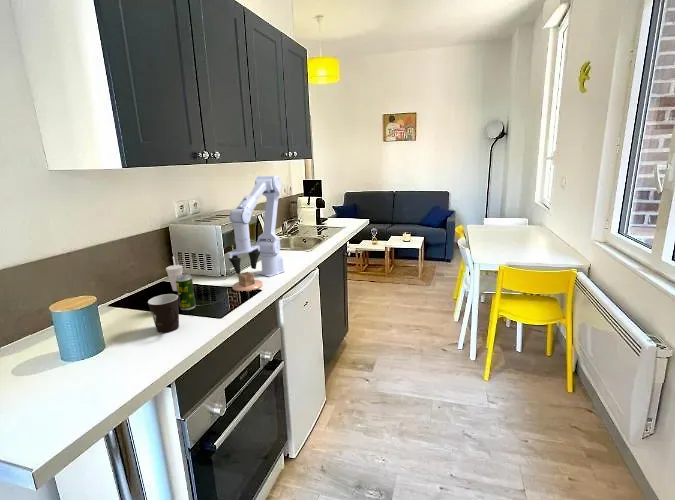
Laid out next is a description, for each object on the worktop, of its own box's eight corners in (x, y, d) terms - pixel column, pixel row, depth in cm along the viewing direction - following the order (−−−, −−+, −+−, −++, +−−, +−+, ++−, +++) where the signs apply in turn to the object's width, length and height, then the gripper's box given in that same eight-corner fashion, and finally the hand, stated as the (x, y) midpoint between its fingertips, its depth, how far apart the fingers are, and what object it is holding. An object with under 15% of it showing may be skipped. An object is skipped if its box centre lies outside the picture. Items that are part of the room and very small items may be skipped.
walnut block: (248, 281, 153) (247, 271, 152) (254, 283, 150) (253, 273, 149) (239, 284, 150) (238, 274, 149) (245, 287, 147) (244, 276, 146)
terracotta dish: (250, 280, 158) (250, 277, 158) (268, 285, 151) (268, 283, 151) (226, 288, 150) (226, 285, 149) (244, 294, 142) (244, 291, 142)
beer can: (183, 305, 134) (178, 274, 131) (198, 304, 134) (193, 273, 131) (177, 311, 129) (172, 279, 126) (193, 310, 129) (188, 278, 126)
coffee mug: (153, 325, 118) (148, 297, 115) (182, 320, 121) (178, 292, 118) (151, 341, 107) (146, 310, 105) (183, 335, 111) (178, 304, 108)
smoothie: (188, 286, 153) (184, 254, 150) (181, 292, 147) (175, 259, 143) (174, 286, 154) (169, 254, 150) (166, 292, 148) (160, 259, 144)
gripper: (251, 234, 153) (254, 264, 156) (221, 241, 142) (225, 273, 146) (261, 236, 148) (264, 267, 152) (231, 243, 138) (235, 277, 141)
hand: (246, 270), depth 149 cm, fingers open, 7 cm apart
